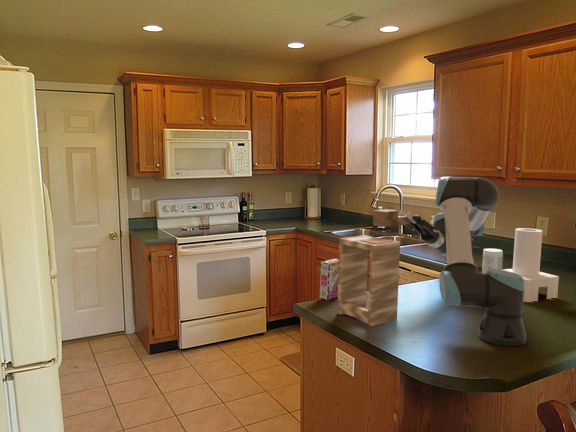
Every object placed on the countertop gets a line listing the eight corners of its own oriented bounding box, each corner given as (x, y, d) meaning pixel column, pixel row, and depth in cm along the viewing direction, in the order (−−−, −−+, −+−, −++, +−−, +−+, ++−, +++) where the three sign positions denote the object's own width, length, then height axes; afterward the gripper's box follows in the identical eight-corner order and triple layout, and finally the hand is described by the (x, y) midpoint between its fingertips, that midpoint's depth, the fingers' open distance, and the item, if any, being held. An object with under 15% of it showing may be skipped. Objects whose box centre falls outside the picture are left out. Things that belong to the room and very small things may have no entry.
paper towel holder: (492, 291, 223) (496, 228, 219) (521, 287, 230) (526, 226, 227) (526, 302, 206) (531, 234, 202) (557, 298, 213) (562, 231, 210)
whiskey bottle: (449, 264, 279) (452, 210, 275) (456, 261, 287) (459, 208, 283) (467, 267, 273) (470, 211, 269) (473, 264, 280) (476, 210, 276)
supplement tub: (496, 275, 254) (498, 248, 252) (505, 280, 245) (507, 251, 243) (478, 275, 254) (480, 248, 252) (486, 279, 244) (488, 251, 243)
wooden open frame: (396, 319, 183) (400, 241, 179) (371, 326, 174) (374, 245, 171) (362, 307, 197) (364, 235, 193) (337, 313, 188) (339, 238, 185)
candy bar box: (328, 301, 205) (329, 263, 203) (319, 299, 208) (319, 261, 206) (342, 295, 213) (343, 259, 211) (333, 293, 216) (334, 257, 214)
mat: (394, 241, 179) (394, 240, 179) (376, 244, 173) (376, 243, 173) (378, 238, 185) (378, 237, 185) (360, 241, 179) (360, 240, 179)
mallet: (410, 220, 208) (411, 207, 207) (422, 222, 203) (422, 208, 203) (373, 225, 193) (373, 210, 193) (384, 226, 189) (385, 211, 188)
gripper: (445, 246, 206) (416, 223, 193) (413, 241, 219) (385, 219, 206) (451, 231, 208) (423, 207, 194) (419, 226, 221) (391, 203, 207)
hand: (403, 213), depth 200 cm, fingers closed on mallet, 3 cm apart
